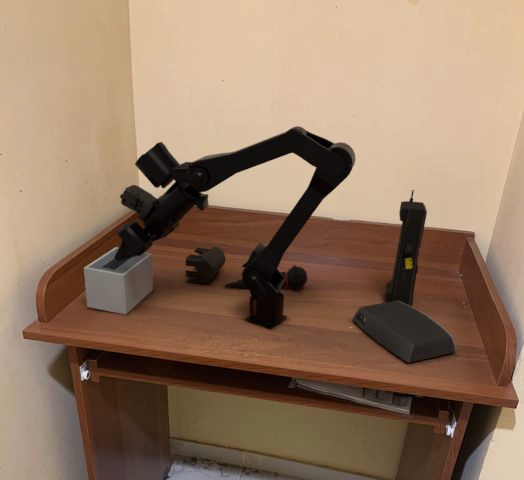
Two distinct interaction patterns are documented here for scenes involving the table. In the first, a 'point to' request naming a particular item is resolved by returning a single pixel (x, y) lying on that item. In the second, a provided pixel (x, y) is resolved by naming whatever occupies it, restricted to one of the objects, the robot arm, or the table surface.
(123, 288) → the grey hollow block
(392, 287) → the portable radio
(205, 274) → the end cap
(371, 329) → the hard drive
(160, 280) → the table surface
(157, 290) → the table surface
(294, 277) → the microphone
